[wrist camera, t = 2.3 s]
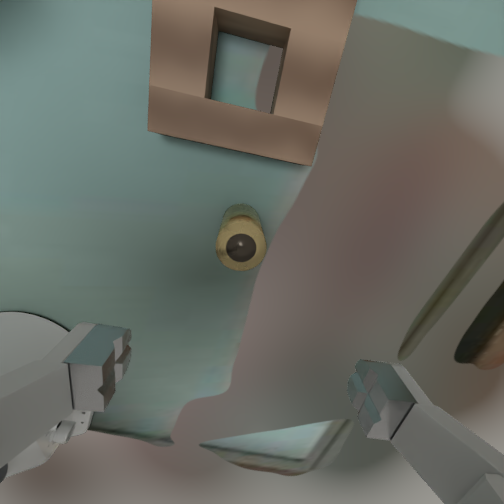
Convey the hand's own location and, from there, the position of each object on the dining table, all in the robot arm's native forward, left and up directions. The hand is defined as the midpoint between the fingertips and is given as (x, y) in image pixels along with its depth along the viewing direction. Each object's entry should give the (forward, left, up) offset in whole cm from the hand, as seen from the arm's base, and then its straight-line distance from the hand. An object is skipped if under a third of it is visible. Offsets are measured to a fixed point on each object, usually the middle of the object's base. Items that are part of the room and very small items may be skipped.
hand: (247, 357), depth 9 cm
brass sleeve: (0, 0, -19) cm, 19 cm away
